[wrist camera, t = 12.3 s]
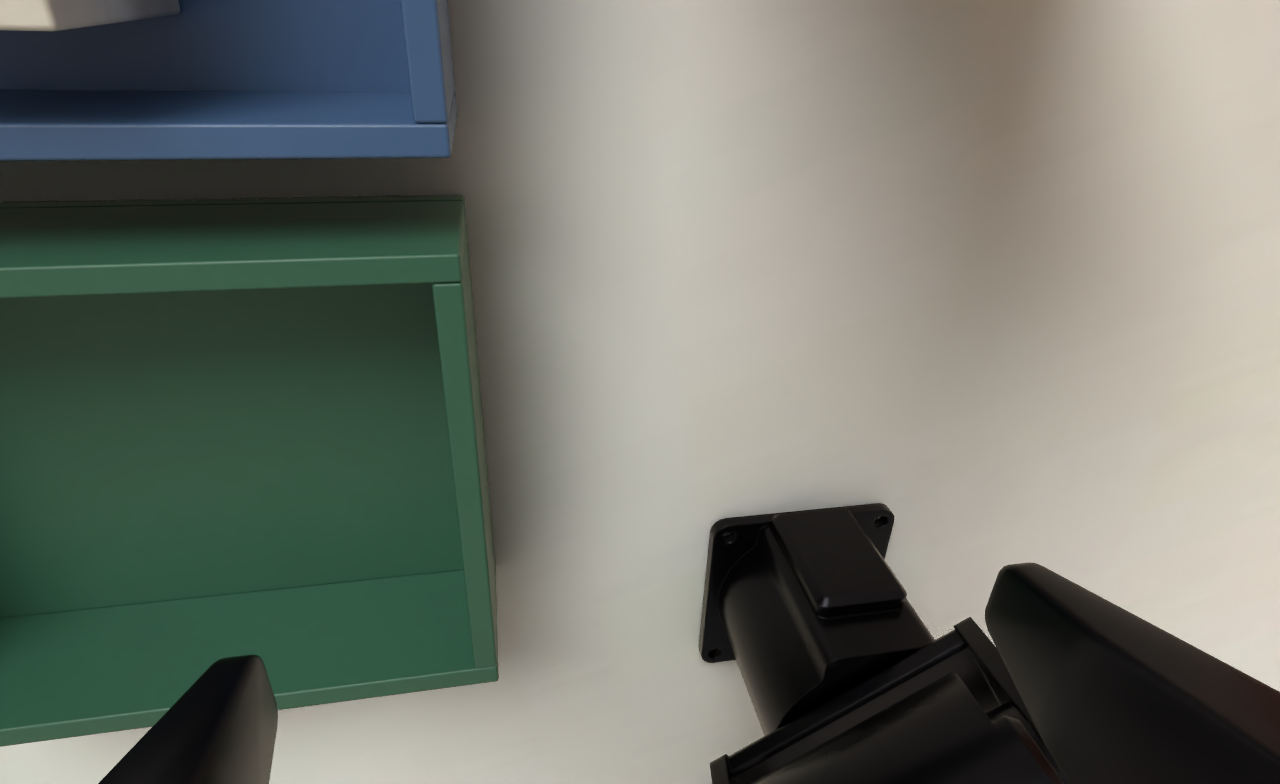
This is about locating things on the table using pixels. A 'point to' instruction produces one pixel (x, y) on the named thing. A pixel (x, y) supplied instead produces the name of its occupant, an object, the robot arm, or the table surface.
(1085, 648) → the robot arm
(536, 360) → the table surface
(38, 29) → the parcel
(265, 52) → the blue tote
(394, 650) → the green tote
